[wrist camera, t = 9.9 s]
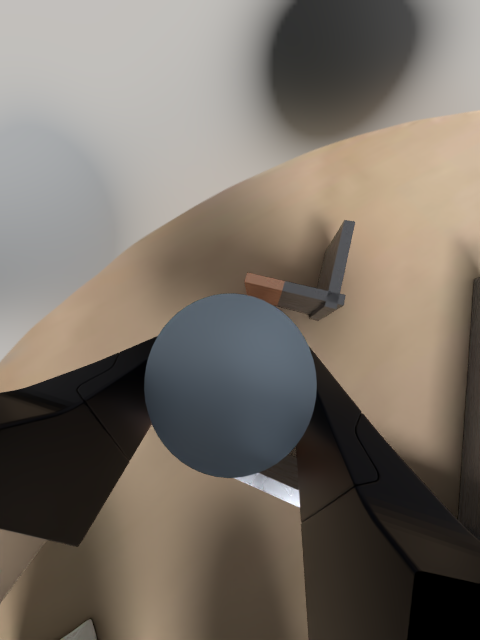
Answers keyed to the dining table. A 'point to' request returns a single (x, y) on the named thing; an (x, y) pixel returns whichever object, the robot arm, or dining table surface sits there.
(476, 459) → the bent channel
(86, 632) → the supplement box
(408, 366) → the dining table surface
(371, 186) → the dining table surface
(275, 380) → the slate peg
